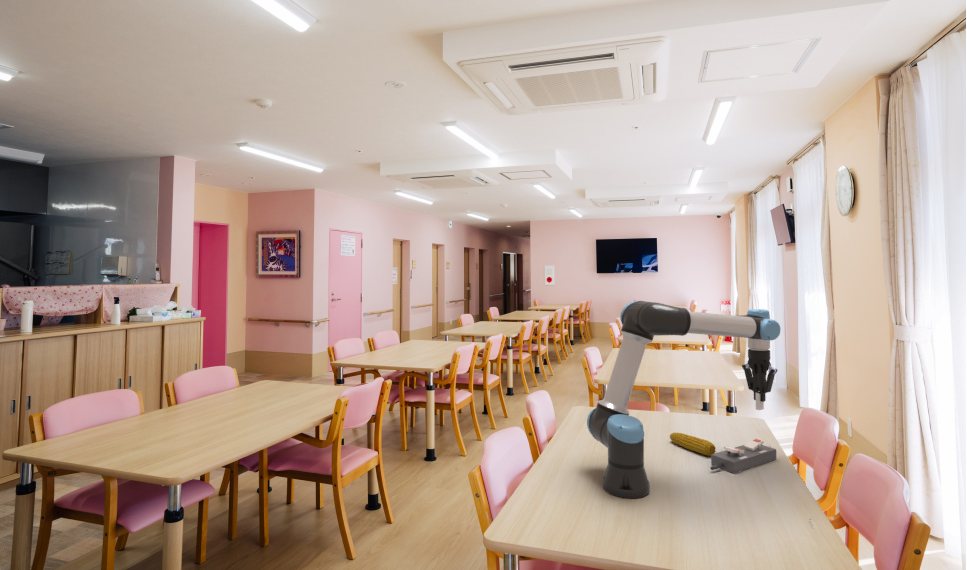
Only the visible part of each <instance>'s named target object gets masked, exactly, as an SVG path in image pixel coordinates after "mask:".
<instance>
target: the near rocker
mask: <svg viewBox="0 0 967 570" xmlns="http://www.w3.org/2000/svg"><path fill="white" fill-rule="evenodd" d="M723 447H724V448H723V451H725V450H727V451H730V452H733V453H743V454H744V451H743V450H741V449H738V448H735V447H729V446H728V447H727V446H723Z"/></svg>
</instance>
